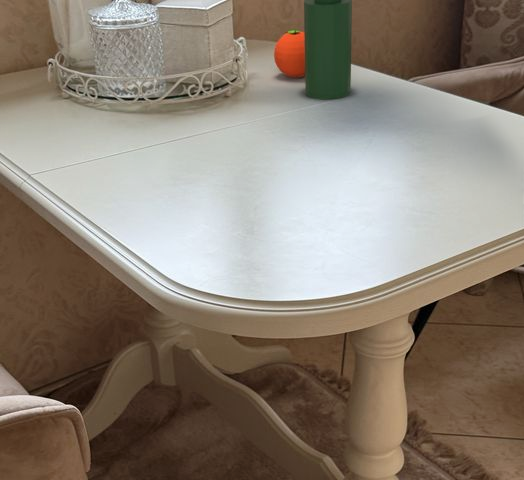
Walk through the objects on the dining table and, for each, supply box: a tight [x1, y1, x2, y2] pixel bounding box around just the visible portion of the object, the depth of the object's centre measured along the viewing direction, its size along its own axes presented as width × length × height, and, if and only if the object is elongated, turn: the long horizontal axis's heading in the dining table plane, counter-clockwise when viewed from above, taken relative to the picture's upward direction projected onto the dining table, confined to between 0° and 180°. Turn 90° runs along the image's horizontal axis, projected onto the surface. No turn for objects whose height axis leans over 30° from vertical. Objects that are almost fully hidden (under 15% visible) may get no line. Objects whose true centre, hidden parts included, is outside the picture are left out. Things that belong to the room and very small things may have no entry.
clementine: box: [273, 29, 305, 78], centre depth 126 cm, size 8×7×7 cm
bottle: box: [303, 0, 353, 100], centre depth 115 cm, size 7×7×17 cm
